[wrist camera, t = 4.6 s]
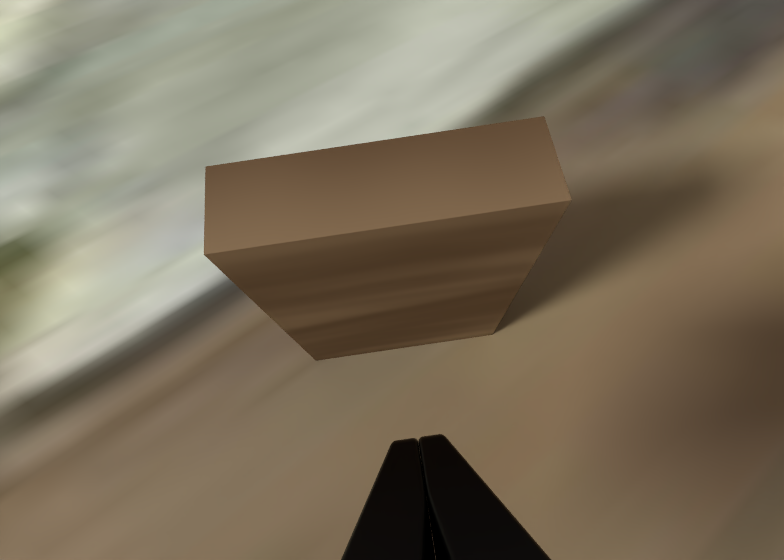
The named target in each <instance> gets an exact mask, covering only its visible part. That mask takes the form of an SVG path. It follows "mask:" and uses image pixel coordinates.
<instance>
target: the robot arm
mask: <svg viewBox="0 0 784 560" xmlns="http://www.w3.org/2000/svg"><path fill="white" fill-rule="evenodd" d="M419 449H420V451H419ZM420 456H421V458H420ZM421 463H422V464H421ZM422 470H423V471H422ZM423 476H424V477H423ZM424 483H425V484H424ZM427 503H428V504H427ZM428 510H429V511H428ZM429 516H430V517H429ZM430 523H431V524H430ZM431 530H432V531H431ZM432 536H433V538H432ZM433 543H434V545H433ZM434 550H435V552H434ZM435 556H436V558H435ZM341 560H551V559H550V558H549V557H548V556H547V554H546V553H545V552H544V551H543V550H542V549H541V547H540V546H539V545H538V544H537V543H536V542H535V540H534V539H533V538H532V537H531V536H530V535H529V533H528V532H527V531H526V530H525V529H524V528H523V526H522V525H521V524H520V523H519V522H518V521H517V519H516V518H515V517H514V516H513V515H512V514H511V512H510V511H509V510H508V509H507V508H506V507H505V505H504V504H503V503H502V502H501V501H500V500H499V498H498V497H497V496H496V495H495V494H494V493H493V491H492V490H491V489H490V488H489V487H488V486H487V484H486V483H485V482H484V481H483V480H482V479H481V477H480V476H479V475H478V474H477V473H476V472H475V470H474V469H473V468H472V467H471V466H470V465H469V464H468V462H467V461H466V460H465V459H464V458H463V457H462V455H461V454H460V453H459V452H458V451H457V450H456V448H455V447H454V446H453V445H452V444H451V443H450V441H449V440H448V439H447V438H446V437H445V436H444V435H442V434H438V435H431V436H424V437H421V438H420V439H419V444H418V441H417V439H415V438H410V439H404V440H397V441H394V442H393V443H392V444H391V446H390V448H389V450H388V452H387V455H386V457H385V459H384V462H383V464H382V466H381V468H380V471H379V473H378V475H377V478H376V480H375V482H374V485H373V487H372V489H371V492H370V494H369V496H368V499H367V501H366V503H365V505H364V508H363V510H362V512H361V515H360V517H359V519H358V522H357V524H356V526H355V529H354V531H353V533H352V536H351V538H350V540H349V542H348V545H347V547H346V549H345V552H344V554H343V556H342V559H341Z"/></svg>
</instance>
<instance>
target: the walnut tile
mask: <svg viewBox="0 0 784 560" xmlns="http://www.w3.org/2000/svg"><path fill="white" fill-rule="evenodd" d="M570 202H571V197H570V194H569V191H568V187H567V184H566V181H565V178H564V175H563V172H562V169H561V166H560V163H559V160H558V157H557V154H556V151H555V148H554V145H553V142H552V139H551V136H550V133H549V130H548V127H547V123H546V120H545V117H544V116H543V117H537V118H530V119H523V120H516V121H510V122H503V123H496V124H489V125H483V126H476V127H469V128H462V129H456V130H449V131H442V132H436V133H429V134H422V135H415V136H409V137H402V138H395V139H388V140H382V141H375V142H368V143H362V144H355V145H348V146H341V147H335V148H328V149H321V150H314V151H308V152H301V153H294V154H287V155H281V156H274V157H267V158H261V159H254V160H247V161H240V162H234V163H227V164H220V165H213V166H207V167H206V173H205V226H204V255H205V256H206V257H207V258H208V259H209V260H210V261H211V262H212V263H213V264H215V265H216V266H217V267H218V268H219V269H220V270H221V271H222V272H223V273H224V274H225V275H226V276H227V277H228V278H229V279H230V280H231V281H232V282H234V283H235V284H236V285H237V286H238V287H239V288H240V289H241V290H242V291H243V292H244V293H245V294H246V295H247V296H248V297H249V298H250V299H251V300H253V301H254V302H255V303H256V304H257V305H258V306H259V307H260V308H261V309H262V310H263V311H264V312H265V313H266V314H267V315H268V316H269V317H270V318H272V319H273V320H274V321H275V322H276V323H277V324H278V325H279V326H280V327H281V328H282V329H283V330H284V331H285V332H286V333H287V334H288V335H289V336H291V337H292V338H293V339H294V340H295V341H296V342H297V343H298V344H299V345H300V346H301V347H302V348H303V349H304V350H305V351H306V352H307V353H309V354H310V355H311V356H312V357H313V358H314V359H315V360H323V359H330V358H337V357H343V356H350V355H357V354H364V353H371V352H377V351H384V350H391V349H398V348H404V347H411V346H418V345H425V344H432V343H438V342H445V341H452V340H459V339H465V338H472V337H479V336H486V335H492V334H493V333H494V331H495V329H496V328H497V326H498V324H499V323H500V321H501V319H502V317H503V316H504V314H505V312H506V311H507V309H508V307H509V306H510V304H511V302H512V300H513V299H514V297H515V295H516V294H517V292H518V290H519V289H520V287H521V285H522V283H523V282H524V280H525V278H526V277H527V275H528V273H529V272H530V270H531V268H532V266H533V265H534V263H535V261H536V260H537V258H538V256H539V255H540V253H541V251H542V249H543V248H544V246H545V244H546V243H547V241H548V239H549V238H550V236H551V234H552V233H553V231H554V229H555V227H556V226H557V224H558V222H559V221H560V219H561V217H562V216H563V214H564V212H565V210H566V209H567V207H568V205H569V204H570Z"/></svg>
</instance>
